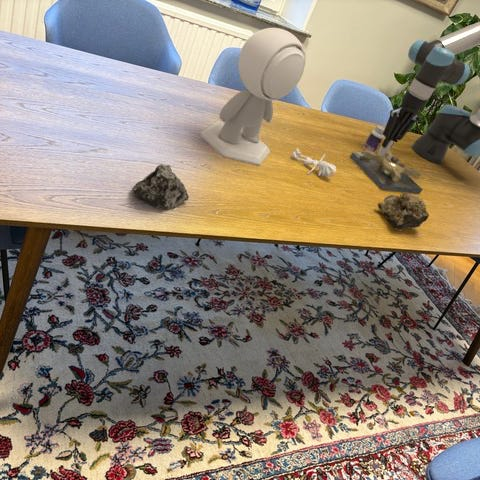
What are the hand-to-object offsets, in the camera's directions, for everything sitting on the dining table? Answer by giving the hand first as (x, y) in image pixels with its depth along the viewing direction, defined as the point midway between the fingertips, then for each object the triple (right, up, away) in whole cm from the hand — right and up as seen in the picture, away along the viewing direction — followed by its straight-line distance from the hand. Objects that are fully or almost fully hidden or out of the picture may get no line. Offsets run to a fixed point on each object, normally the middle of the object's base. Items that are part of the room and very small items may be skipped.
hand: (380, 154), depth 165 cm
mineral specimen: (-5, -25, -27) cm, 37 cm away
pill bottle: (0, +5, +15) cm, 16 cm away
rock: (-70, -22, -63) cm, 97 cm away
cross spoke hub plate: (+1, -8, -1) cm, 8 cm away
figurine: (-29, -9, -20) cm, 36 cm away
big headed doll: (-53, -2, -27) cm, 60 cm away
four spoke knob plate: (+2, -6, -2) cm, 6 cm away
